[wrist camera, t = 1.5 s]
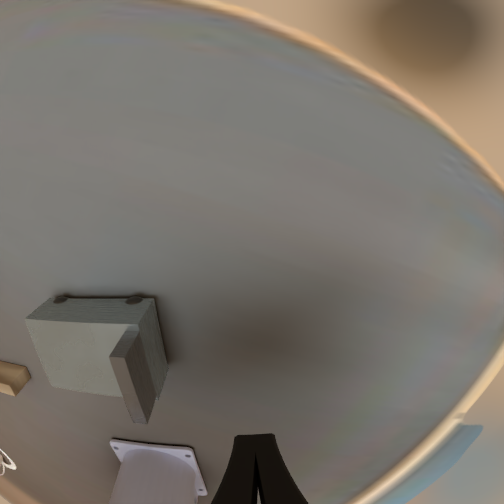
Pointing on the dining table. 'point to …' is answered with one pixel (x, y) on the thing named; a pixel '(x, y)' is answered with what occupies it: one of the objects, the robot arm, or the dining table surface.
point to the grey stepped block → (102, 348)
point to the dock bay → (12, 378)
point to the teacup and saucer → (12, 466)
